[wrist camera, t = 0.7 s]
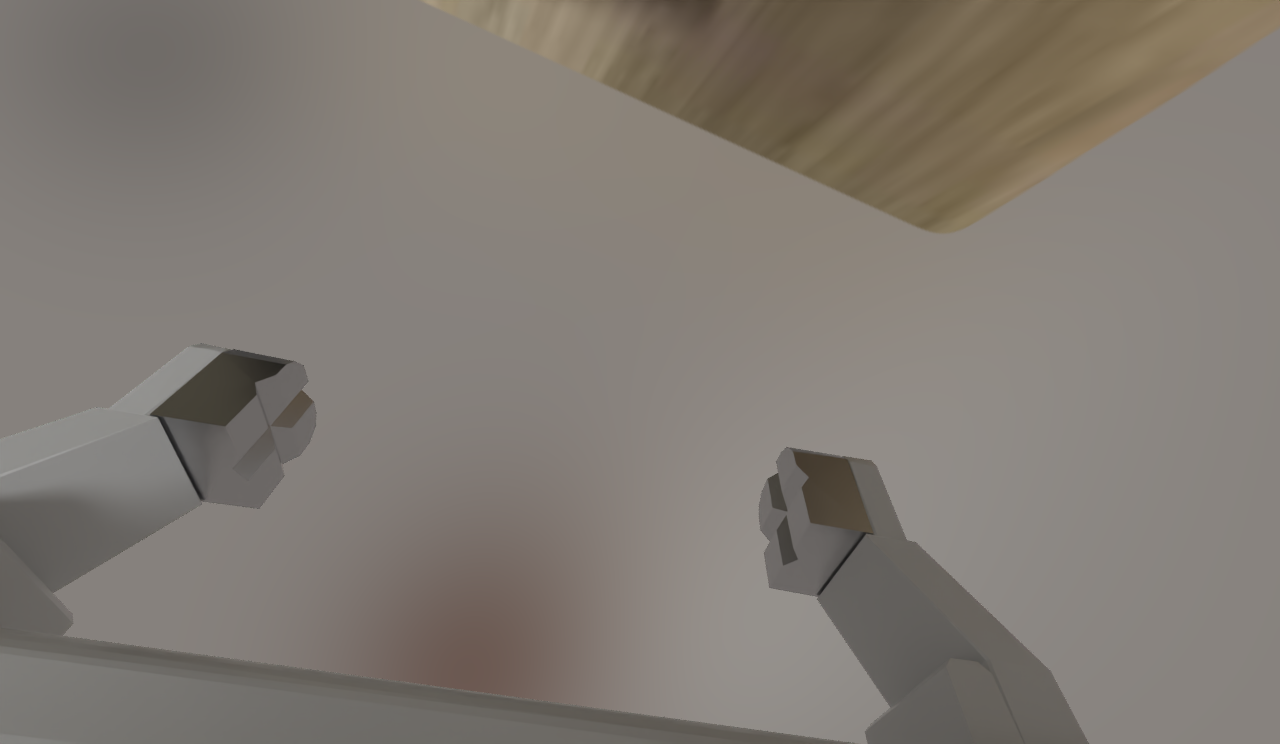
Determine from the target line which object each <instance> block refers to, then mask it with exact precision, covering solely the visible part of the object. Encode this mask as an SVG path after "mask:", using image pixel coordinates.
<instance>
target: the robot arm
mask: <svg viewBox="0 0 1280 744" xmlns="http://www.w3.org/2000/svg"><path fill="white" fill-rule="evenodd" d="M307 382H308V378H307V375H306V372H305V369H304V365H301V364H299V363H297V362H295V361H290V360H285V359H281V358H276V357H270V356H265V355H260V354H255V353H250V352H245V351H240V350H235V349H233V350H231V349H226V348H221V347H216V346H211V345H207V344H202V343H201V344H197V345H192V346H189V347H188V348H186V349H185V350H183V351H182V352H181V353H180V354H178V355H177V356H176V357H174V358H173V359H172V360H171V361H169V362H168V363H167V364H165V365H164V366H163V367H162V368H160V369H159V370H158V371H156V372H155V373H154V374H153V375H151V376H150V377H149V378H147V379H146V380H145V381H144V382H142V383H141V384H140V385H138V386H137V387H136V388H135V389H133V390H132V391H131V392H129V393H128V394H127V395H126V396H124V397H123V398H122V399H120V400H119V401H118V402H117V403H115V404H114V405H113V406H111V407H110V408H109V409H105V408H98V407H96V408H93V409H90V410H87V411H84V412H81V413H78V414H75V415H72V416H69V417H66V418H63V419H60V420H57V421H54V422H51V423H48V424H45V425H42V426H39V427H36V428H33V429H30V430H27V431H24V432H21V433H17V434H14V435H12V436H9V437H5V438H2V439H0V744H857V743H849V742H841V741H834V740H827V739H819V738H813V737H805V736H798V735H790V734H783V733H775V732H768V731H761V730H754V729H746V728H739V727H731V726H724V725H717V724H709V723H702V722H695V721H687V720H680V719H672V718H665V717H657V716H650V715H642V714H635V713H628V712H621V711H614V710H606V709H599V708H592V707H584V706H577V705H569V704H562V703H555V702H547V701H539V700H533V699H525V698H517V697H511V696H503V695H496V694H488V693H481V692H474V691H466V690H459V689H451V688H444V687H437V686H429V685H422V684H415V683H407V682H400V681H392V680H385V679H378V678H371V677H363V676H355V675H348V674H341V673H334V672H326V671H319V670H312V669H304V668H297V667H289V666H282V665H274V664H267V663H260V662H252V661H245V660H238V659H230V658H223V657H215V656H208V655H200V654H193V653H186V652H178V651H171V650H163V649H156V648H149V647H141V646H134V645H127V644H119V643H112V642H104V641H97V640H89V639H82V638H74V637H67V636H63V635H64V633H65V632H66V631H67V630H68V629H69V628H70V627H71V626H72V624H73V615H72V613H71V612H70V611H69V610H68V609H67V608H66V606H65V605H64V604H63V603H62V602H61V601H60V600H59V599H58V598H57V597H56V596H55V595H54V594H53V593H54V592H56V591H57V590H59V589H61V588H62V587H64V586H66V585H68V584H69V583H71V582H72V581H74V580H76V579H78V578H79V577H81V576H82V575H84V574H86V573H88V572H89V571H91V570H93V569H94V568H96V567H98V566H99V565H101V564H103V563H104V562H106V561H108V560H109V559H111V558H113V557H115V556H116V555H118V554H120V553H121V552H123V551H125V550H126V549H128V548H129V547H131V546H133V545H134V544H136V543H138V542H140V541H141V540H143V539H145V538H146V537H148V536H150V535H151V534H153V533H155V532H156V531H158V530H160V529H162V528H163V527H164V526H166V525H168V524H170V523H171V522H173V521H175V520H177V519H178V518H180V517H182V516H183V515H185V514H187V513H188V512H190V511H192V510H193V509H195V508H197V507H198V506H200V505H201V504H202V502H201V501H203V502H211V503H219V504H227V505H235V506H242V507H250V508H257V509H259V508H260V507H261V506H262V505H263V503H264V502H265V500H266V499H267V498H268V497H269V495H270V494H271V493H272V492H273V490H274V489H275V488H276V486H277V485H278V484H279V482H280V481H281V480H282V478H283V477H284V470H283V464H284V463H286V462H288V461H290V460H292V459H294V458H296V457H298V456H300V455H301V454H302V452H303V451H304V449H305V448H306V447H307V445H308V444H309V442H310V440H311V437H312V435H313V432H314V429H315V427H316V409H315V405H314V401H313V400H312V399H311V398H309V396H308V395H307V394H306V393H304V392H303V391H302V388H303V387H304V386H305V385H306V384H307ZM776 463H777V469H778V473H777V474H775V475H774V476H772V477H770V478H768V479H767V481H766V483H765V486H764V488H763V490H762V493H761V498H760V504H759V522H760V529H761V531H762V533H763V534H764V535H765V536H766V537H767V539H768V540H769V541H770V543H769V544H768V546H767V548H766V550H765V552H764V556H765V562H766V569H767V575H768V581H769V587H770V588H773V589H778V590H784V591H789V592H795V593H800V594H806V595H812V596H817V597H818V598H817V600H818V601H819V602H820V604H821V606H822V607H823V609H824V610H825V612H826V613H827V615H828V616H829V617H830V619H831V620H832V622H833V623H834V625H835V626H836V628H837V629H838V631H839V632H840V634H841V635H842V637H843V638H844V640H845V641H846V643H847V644H848V646H849V647H850V648H851V650H852V651H853V653H854V654H855V656H856V657H857V659H858V660H859V662H860V663H861V665H862V666H863V668H864V669H865V671H866V672H867V674H868V675H869V676H870V678H871V679H872V681H873V682H874V684H875V685H876V687H877V688H878V689H879V691H880V693H881V694H882V696H883V697H884V699H885V700H886V702H887V703H888V704H889V706H890V707H891V708H890V709H888V710H887V711H886V712H885V713H883V714H882V715H881V716H880V717H879V718H878V719H876V720H875V721H874V722H873V723H871V725H870V726H869V727H868V728H867V730H866V731H865V734H866V738H867V742H868V744H1089V743H1088V741H1087V739H1086V737H1085V735H1084V733H1083V731H1082V730H1081V728H1080V726H1079V724H1078V722H1077V720H1076V718H1075V716H1074V714H1073V712H1072V711H1071V709H1070V707H1069V705H1068V703H1067V701H1066V699H1065V697H1064V695H1063V693H1062V692H1061V690H1060V688H1059V686H1058V684H1057V682H1056V680H1055V679H1054V676H1053V674H1052V673H1051V671H1050V670H1049V669H1048V668H1047V667H1046V666H1045V665H1044V664H1043V663H1042V662H1041V661H1040V660H1039V659H1038V658H1036V657H1035V656H1034V655H1033V654H1032V653H1031V652H1030V651H1029V650H1028V649H1027V648H1026V647H1025V646H1024V645H1023V644H1022V643H1021V642H1020V641H1019V640H1018V639H1017V638H1016V637H1015V636H1014V635H1013V634H1011V633H1010V632H1009V631H1008V630H1007V629H1006V628H1005V627H1004V626H1003V625H1002V624H1001V623H1000V622H999V621H998V620H997V619H996V618H995V617H993V615H992V614H990V613H989V612H988V611H987V610H986V609H985V608H984V607H983V606H982V605H981V604H980V603H979V602H978V601H977V600H976V599H975V598H974V597H973V596H972V595H971V594H969V592H967V591H966V590H965V589H964V588H963V587H962V586H961V585H960V584H959V583H958V582H957V581H956V580H955V579H954V578H953V577H952V576H951V575H950V574H949V573H947V572H946V571H945V570H944V569H943V568H942V567H941V566H940V565H939V564H938V563H937V562H936V561H935V560H934V559H933V558H932V557H931V556H930V555H929V554H928V553H926V551H925V550H923V549H922V548H921V547H920V546H919V545H918V544H917V543H916V542H912V541H907V539H906V537H905V534H904V532H903V529H902V527H901V525H900V522H899V520H898V517H897V515H896V512H895V510H894V507H893V505H892V503H891V500H890V497H889V495H888V493H887V490H886V488H885V485H884V483H883V480H882V478H881V476H880V473H879V470H878V468H877V466H876V465H875V464H874V463H873V462H872V461H871V460H864V459H857V458H852V457H845V456H842V457H841V456H837V455H832V454H826V453H819V452H813V451H807V450H801V449H795V448H789V447H786V448H785V449H784V450H783V451H782V452H781V454H780V456H779V457H778V459H777V461H776Z"/></svg>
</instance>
